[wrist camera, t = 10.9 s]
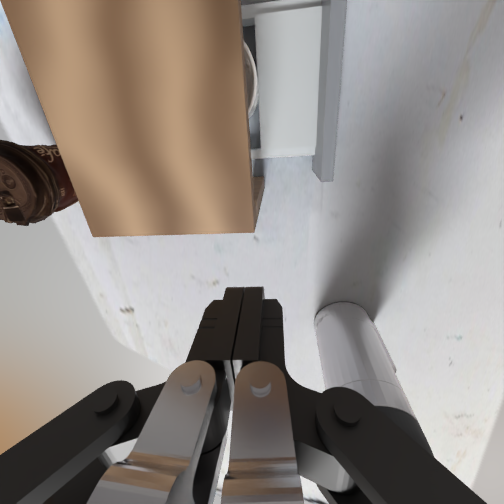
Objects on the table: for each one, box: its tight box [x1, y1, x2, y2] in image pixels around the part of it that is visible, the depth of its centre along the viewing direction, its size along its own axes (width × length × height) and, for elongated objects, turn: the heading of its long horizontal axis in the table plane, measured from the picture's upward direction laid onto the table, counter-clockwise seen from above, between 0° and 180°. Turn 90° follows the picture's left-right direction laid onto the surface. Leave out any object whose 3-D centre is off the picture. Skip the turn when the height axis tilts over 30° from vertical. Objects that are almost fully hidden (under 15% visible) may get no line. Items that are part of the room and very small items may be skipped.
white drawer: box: [241, 0, 347, 182], centre depth 26 cm, size 20×18×8 cm
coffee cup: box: [0, 140, 79, 226], centre depth 29 cm, size 9×8×13 cm
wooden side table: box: [0, 0, 265, 237], centre depth 23 cm, size 14×22×16 cm, turn 4°
